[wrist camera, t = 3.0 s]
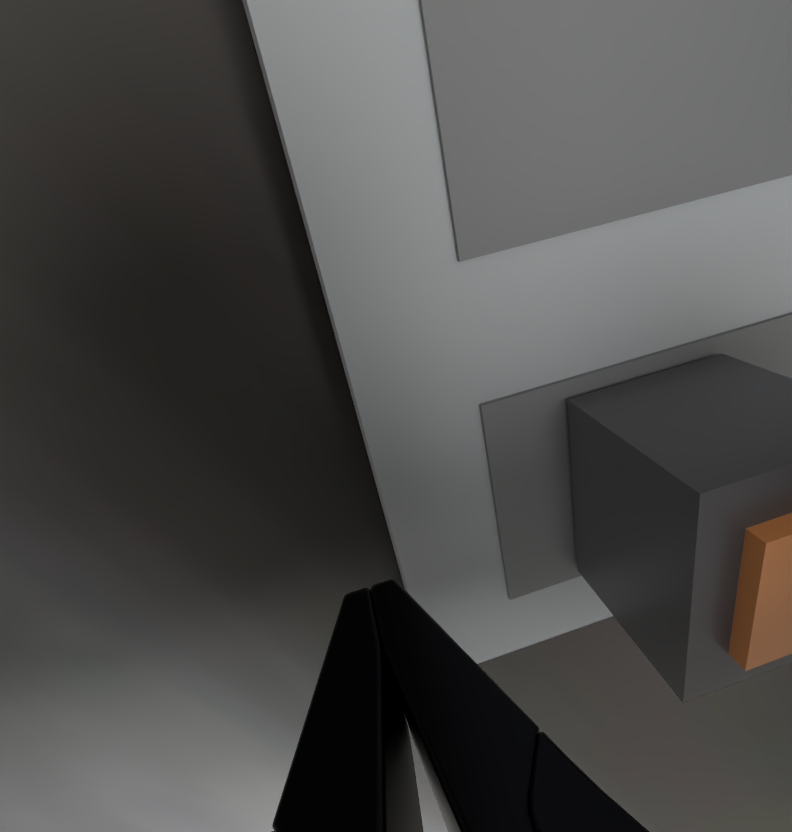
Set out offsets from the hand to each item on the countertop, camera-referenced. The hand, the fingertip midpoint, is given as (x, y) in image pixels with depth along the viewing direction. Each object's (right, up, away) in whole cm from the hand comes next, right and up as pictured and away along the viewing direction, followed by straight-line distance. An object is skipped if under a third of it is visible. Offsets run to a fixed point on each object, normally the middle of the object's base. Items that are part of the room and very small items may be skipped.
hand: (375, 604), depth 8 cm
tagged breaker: (+5, +2, +2) cm, 6 cm away
